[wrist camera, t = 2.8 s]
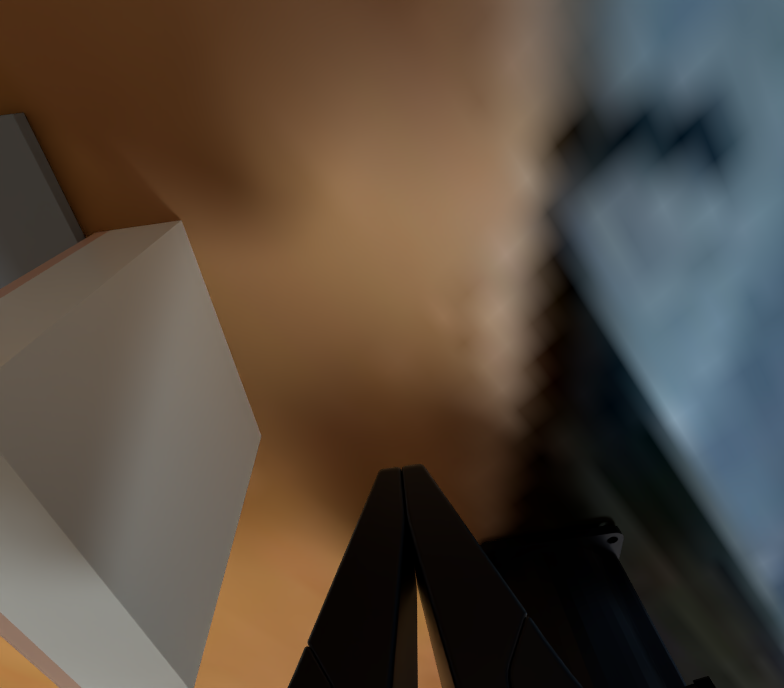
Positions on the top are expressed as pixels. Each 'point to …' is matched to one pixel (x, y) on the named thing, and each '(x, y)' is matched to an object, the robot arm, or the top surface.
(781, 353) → the top surface
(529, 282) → the top surface
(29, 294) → the tile
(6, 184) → the mat
